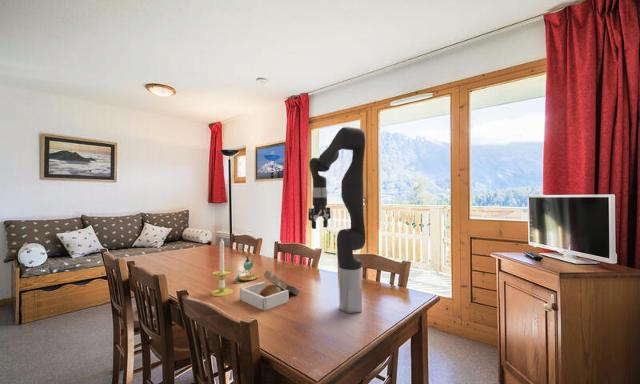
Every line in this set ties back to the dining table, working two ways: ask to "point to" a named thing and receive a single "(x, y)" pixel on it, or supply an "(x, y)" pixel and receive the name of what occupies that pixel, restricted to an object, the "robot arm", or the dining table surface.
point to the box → (263, 303)
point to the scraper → (280, 283)
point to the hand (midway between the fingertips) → (319, 228)
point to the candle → (221, 275)
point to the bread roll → (269, 290)
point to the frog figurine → (247, 266)
